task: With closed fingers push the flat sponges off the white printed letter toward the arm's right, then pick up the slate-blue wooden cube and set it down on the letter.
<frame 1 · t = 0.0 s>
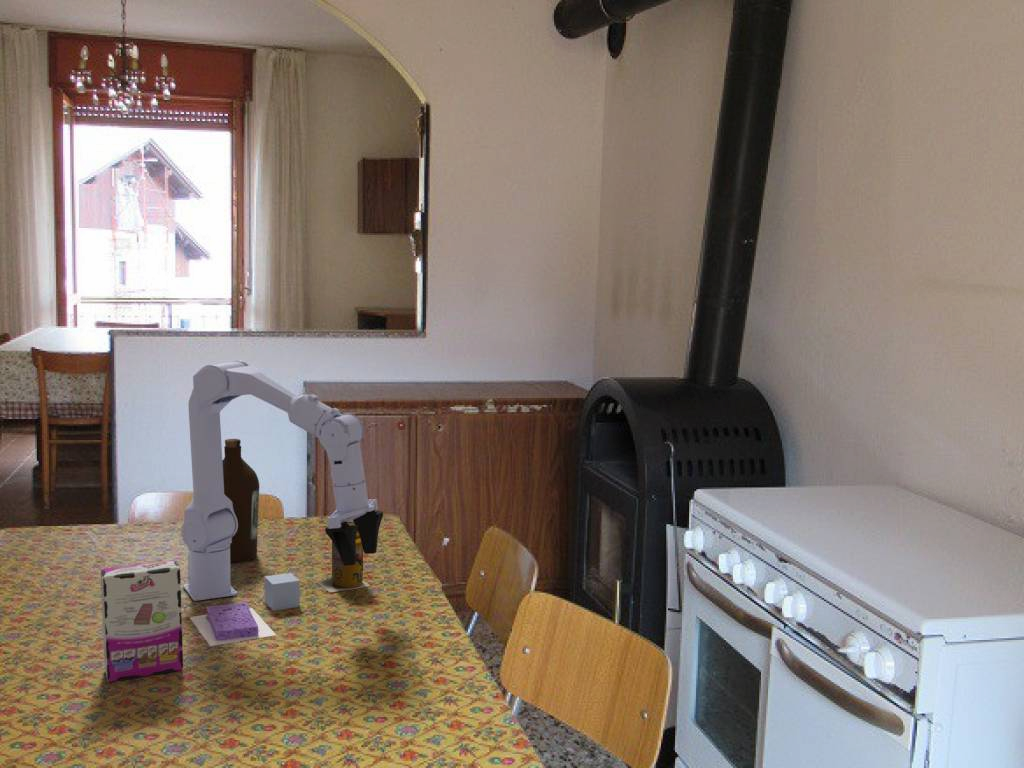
hand: (360, 558, 183), 11 cm above the table, tool pointing down, fingers open, 7 cm apart
olive oil: (234, 557, 218), on the table
letter: (232, 625, 179), on the table
condiment: (342, 585, 202), on the table
sponges: (232, 627, 179), on the table, touching letter
cube: (282, 604, 190), on the table
candy bar box: (143, 672, 159), on the table
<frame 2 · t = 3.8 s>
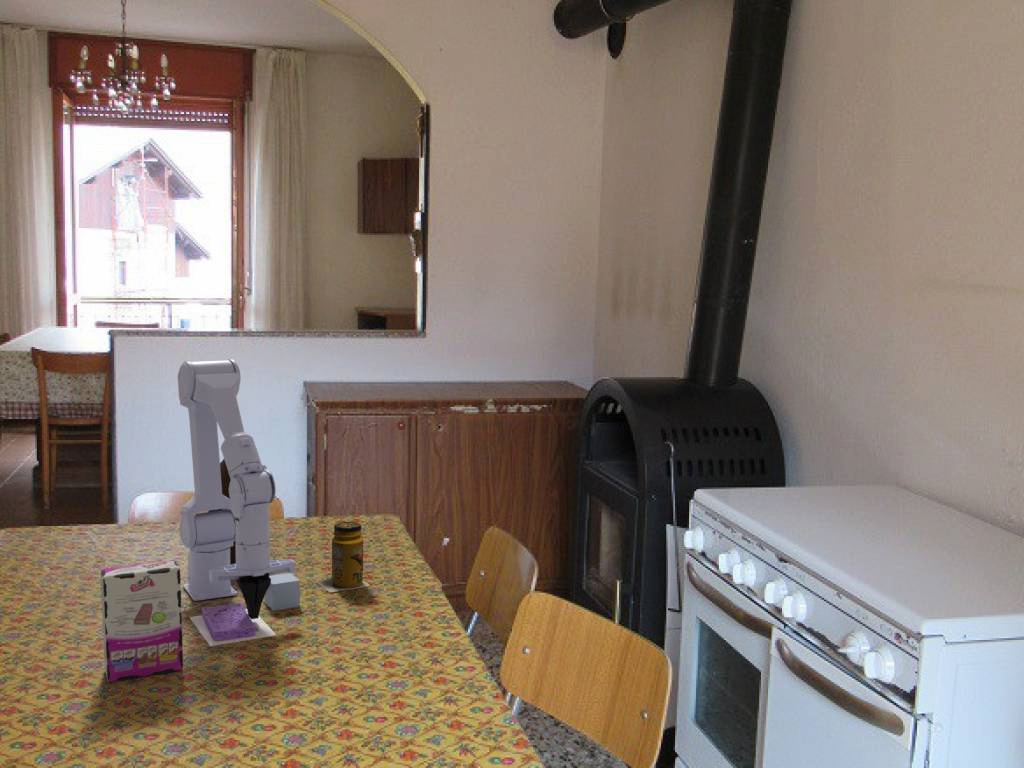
hand: (253, 617, 180), 1 cm above the table, tool pointing down, fingers closed
sponges: (228, 627, 178), on the table, touching gripper, letter
everything else where it was.
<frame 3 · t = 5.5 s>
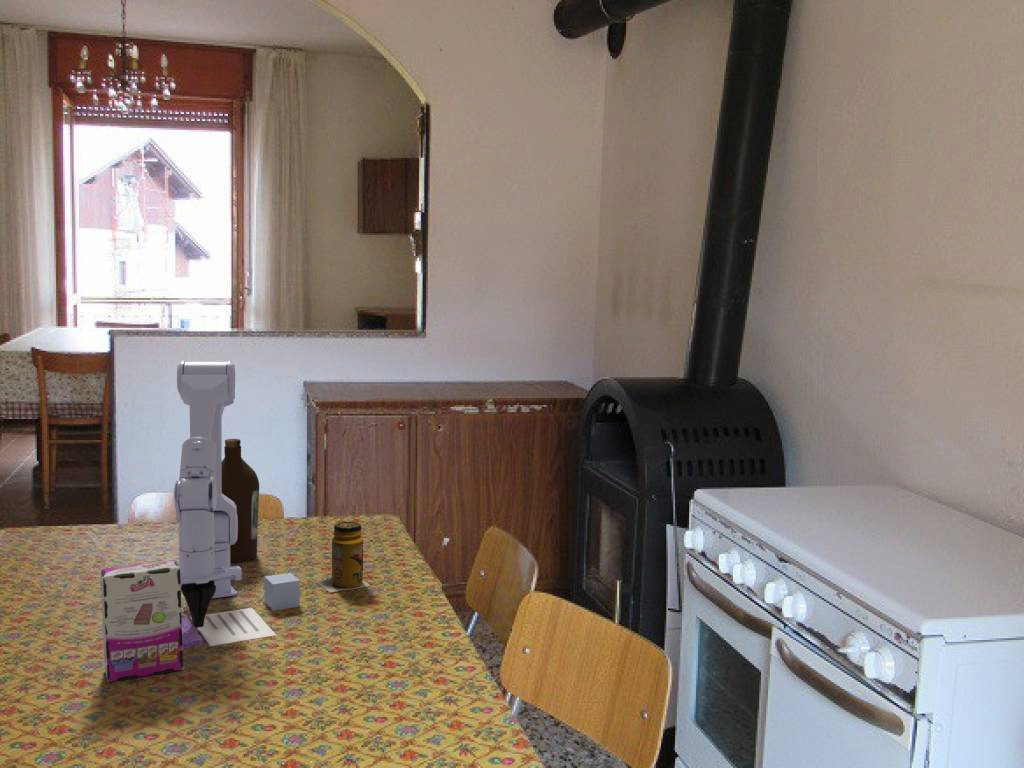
hand: (197, 625, 176), 1 cm above the table, tool pointing down, fingers closed
sponges: (173, 640, 173), on the table, touching gripper
everything else where it was.
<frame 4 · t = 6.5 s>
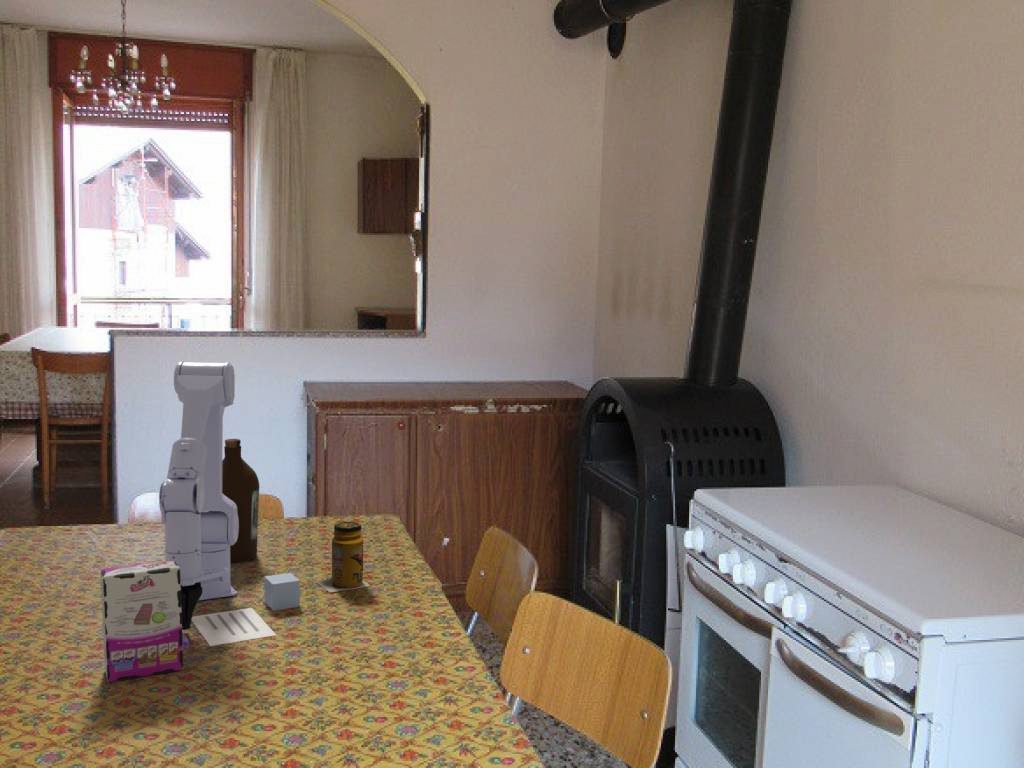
hand: (184, 627, 174), 1 cm above the table, tool pointing down, fingers closed
sponges: (159, 642, 172), on the table
everything else where it was.
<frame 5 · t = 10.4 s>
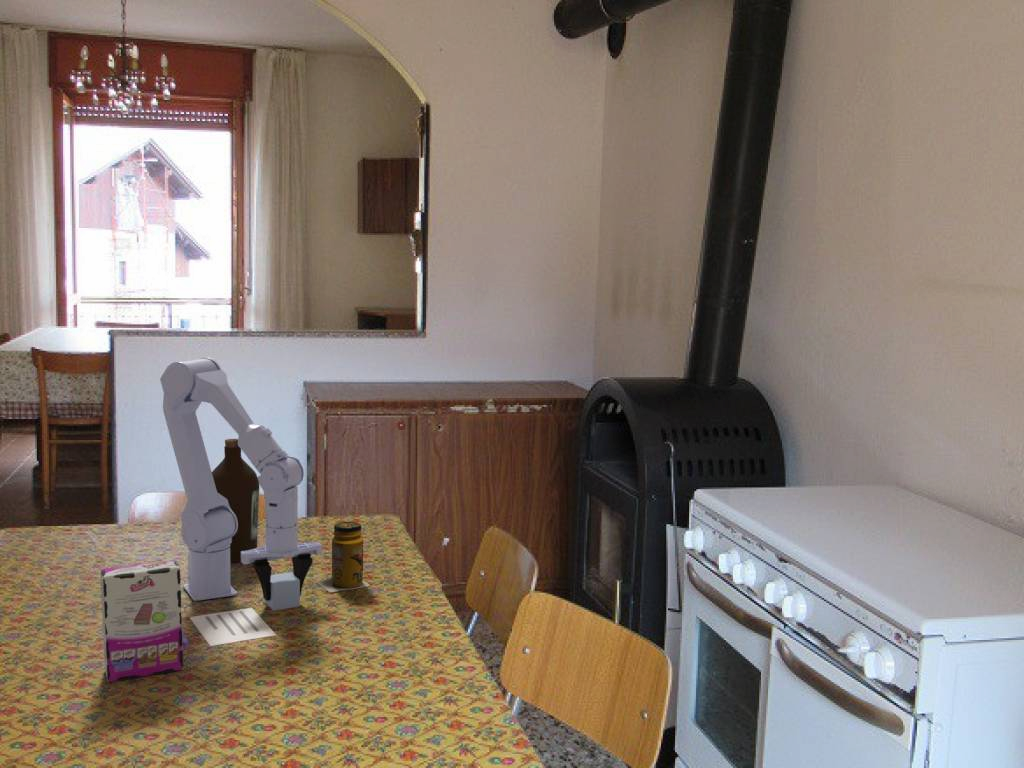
hand: (282, 596, 190), 1 cm above the table, tool pointing down, fingers closed on cube, 5 cm apart
cube: (282, 604, 190), on the table, touching gripper
everything else where it was.
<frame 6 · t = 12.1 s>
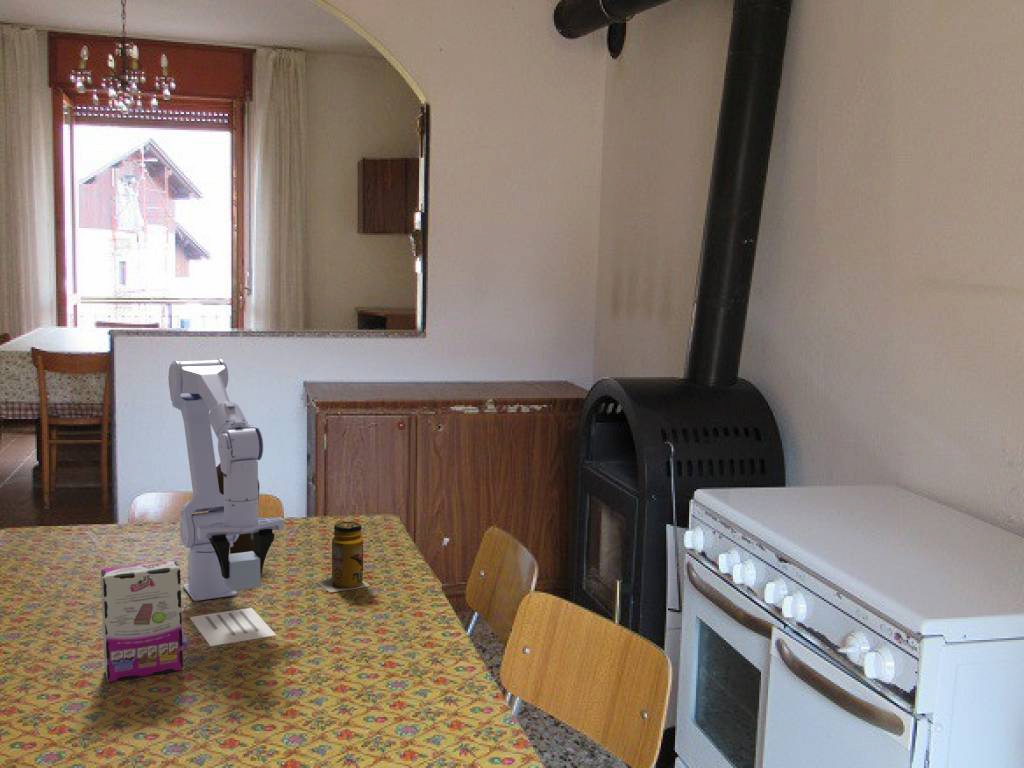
hand: (241, 574, 180), 8 cm above the table, tool pointing down, fingers closed on cube, 5 cm apart
cube: (242, 584, 180), point 7 cm above the table, touching gripper
everything else where it was.
when the fingers open (3 cm above the table, at t = 13.8 s): cube drops 1 cm, resting on letter.
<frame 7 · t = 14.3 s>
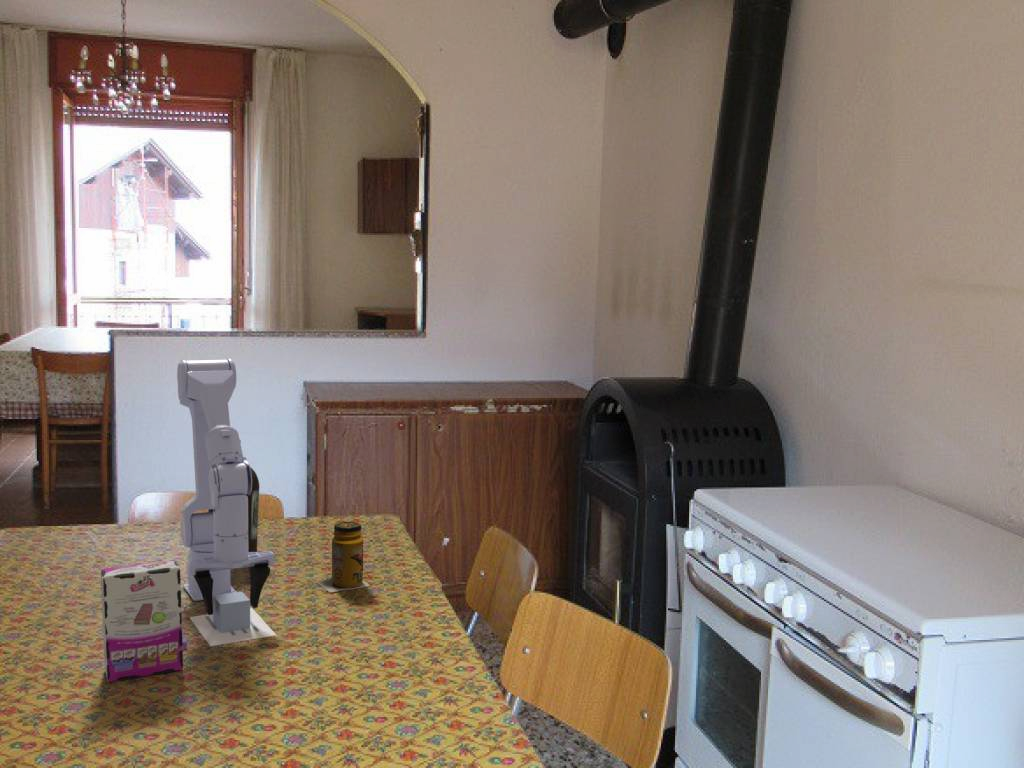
hand: (231, 609, 178), 3 cm above the table, tool pointing down, fingers open, 7 cm apart
cube: (231, 625, 178), resting on letter
everything else where it was.
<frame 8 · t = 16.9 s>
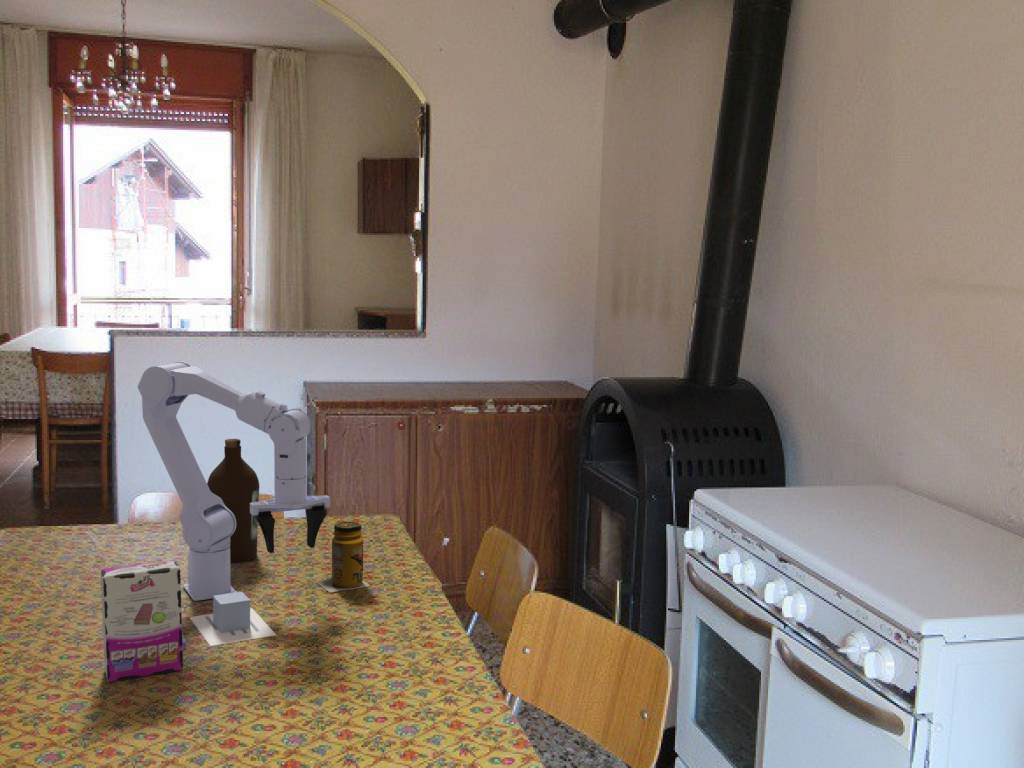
hand: (290, 549, 191), 10 cm above the table, tool pointing down, fingers open, 7 cm apart
nothing on the table moved.
at the end: sponges inside the target area (7.7 cm from its centre), on the table; cube inside the target area on the letter (0.1 cm from its centre), point 0.0 cm above the letter's base; cube tilted 0° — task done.
